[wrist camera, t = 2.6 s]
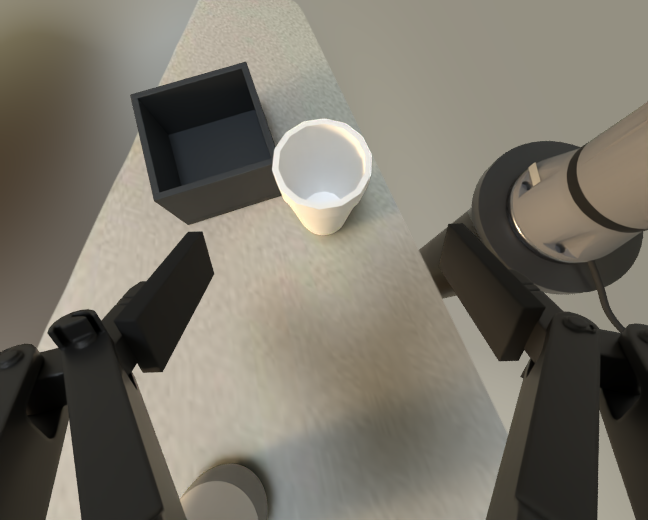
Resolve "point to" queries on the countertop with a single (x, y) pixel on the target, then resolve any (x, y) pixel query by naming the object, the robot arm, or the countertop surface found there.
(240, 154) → the dark grey open box
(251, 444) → the countertop surface
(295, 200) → the foam cup
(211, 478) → the smart speaker
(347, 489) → the countertop surface
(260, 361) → the countertop surface
